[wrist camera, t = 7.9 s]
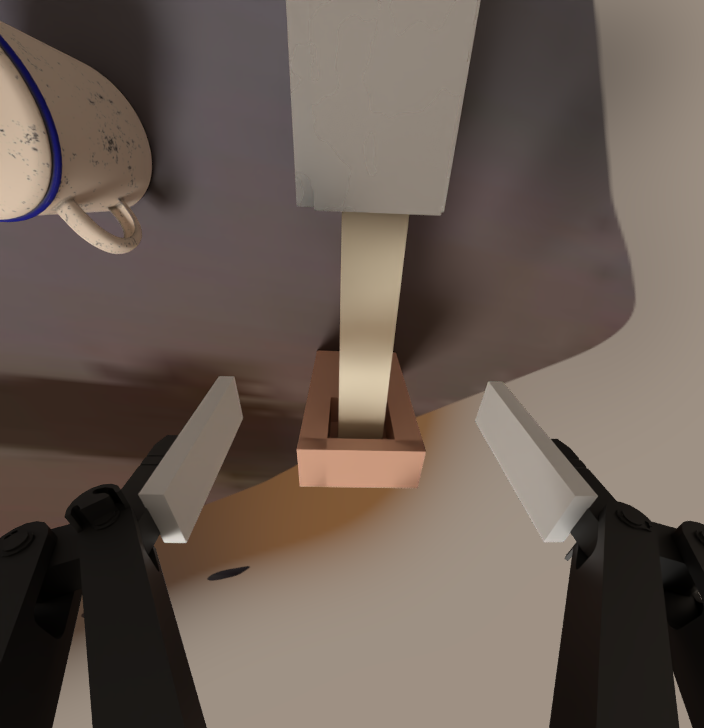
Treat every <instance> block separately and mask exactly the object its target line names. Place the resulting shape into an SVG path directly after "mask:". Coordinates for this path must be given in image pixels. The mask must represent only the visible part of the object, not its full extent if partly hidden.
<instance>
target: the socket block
mask: <svg viewBox="0 0 704 728" xmlns="http://www.w3.org/2000/svg"><path fill="white" fill-rule="evenodd" d="M339 361H340V351H317V354H316V359H315V363H314V368H313V373H312V378H311V383H310V388H309V393H308V397H307V402H306V407H305V412H304V417H303V422H302V427H301V431H300V436H299V441H298V446H297V458H298V469H299V482H300V487H365V488H367V487H368V488H418V484H419V480H420V476H421V471H422V467H423V462H424V458H425V454H426V450H425V447H424V444H423V440H422V437H421V434H420V431H419V427H418V424H417V421H416V417H415V414H414V411H413V407H412V404H411V401H410V397H409V394H408V391H407V388H406V384H405V381H404V378H403V374H402V371H401V368H400V365H399V361H398V358H397V355H396V353H393V354H392V362H391V370H390V379H389V387H388V395H387V403H386V412H385V420H384V428H383V437H382V438H383V439H344V438H338V417H339Z"/></svg>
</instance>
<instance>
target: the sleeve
mask: <svg viewBox="0 0 704 728" xmlns="http://www.w3.org/2000/svg"><path fill="white" fill-rule="evenodd" d="M480 1H481V0H286V11H287V30H288V49H289V68H290V87H291V105H292V124H293V143H294V162H295V181H296V200H297V206H303V207H314V210H315V211H339V212H364V213H389V214H414V215H439V216H441V212H444V209H445V203H446V197H447V191H448V186H449V180H450V174H451V168H452V162H453V157H454V151H455V145H456V139H457V134H458V128H459V122H460V116H461V110H462V105H463V99H464V93H465V87H466V82H467V76H468V70H469V64H470V59H471V53H472V47H473V41H474V35H475V30H476V24H477V18H478V12H479V7H480Z"/></svg>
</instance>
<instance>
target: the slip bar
mask: <svg viewBox="0 0 704 728" xmlns="http://www.w3.org/2000/svg"><path fill="white" fill-rule="evenodd" d="M408 221H409V214H389V213H364V212H342V238H341V299H340V361H339V417H338V438H344V439H383V438H382V437H383V428H384V420H385V412H386V403H387V395H388V387H389V379H390V370H391V362H392V354H393V345H394V337H395V329H396V320H397V312H398V304H399V296H400V287H401V279H402V271H403V262H404V254H405V246H406V237H407V229H408Z"/></svg>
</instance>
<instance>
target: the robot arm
mask: <svg viewBox="0 0 704 728" xmlns="http://www.w3.org/2000/svg"><path fill="white" fill-rule="evenodd" d="M242 419H243V416H242V411H241V406H240V401H239V397H238V392H237V387H236V382H235V377H226V376H219V377H218V379H217V380H216V382H215V383H214V384H213V386H212V387H211V389H210V390H209V392H208V393H207V395H206V396H205V398H204V399H203V401H202V402H201V403H200V405H199V406H198V408H197V409H196V411H195V412H194V414H193V415H192V417H191V418H190V420H189V421H188V422H187V424H186V425H185V427H184V428H183V430H182V431H181V433H180V434H179V435H167V436H166V437H164V438H163V439H162V440H160V441H159V442H158V443H157V444H155V445H154V447H153V448H152V449H151V451H150V452H149V453H148V455H147V457H145V459H144V460H143V461H142V463H141V465H140V466H139V467H138V468H137V469H136V471H135V472H134V473H133V475H132V476H131V477H130V479H129V480H128V481H127V483H126V484H125V485H124V487H123V488H122V489H120V488H119V487H118V486H117V485H114V484H103V485H100V486H97V487H94V488H91V489H89V490H88V491H86V492H84V493H82V494H81V495H80V496H79V497H77V498H76V499H75V500H74V501H73V502H72V503H71V504H70V506H69V507H68V508H67V510H66V514H65V518H66V519H67V520H68V522H69V523H70V524H69V525H65V526H61V527H57V528H54V529H50V528H49V527H48V526H47V524H46V523H45V522H39V521H36V522H31V523H26V524H24V525H22V526H19V527H17V528H15V529H13V530H11V531H10V532H8V533H7V534H5V535H3V536H2V537H1V538H0V728H52V726H53V722H54V717H55V713H56V709H57V704H58V700H59V695H60V691H61V686H62V682H63V677H64V673H65V668H66V664H67V659H68V655H69V651H70V646H71V642H72V637H73V633H74V628H75V624H76V620H77V615H78V611H79V606H80V601H81V597H82V595H83V608H84V621H85V633H86V647H87V660H88V672H89V686H90V699H91V712H92V725H93V728H207V727H206V723H205V720H204V717H203V713H202V709H201V706H200V703H199V699H198V695H197V692H196V689H195V685H194V682H193V678H192V675H191V671H190V667H189V664H188V660H187V657H186V653H185V650H184V646H183V643H182V639H181V636H180V633H179V629H178V625H177V622H176V618H175V615H174V611H173V608H172V604H171V601H170V598H169V594H168V590H167V587H166V584H165V580H164V576H163V573H162V569H161V566H160V562H159V559H158V555H157V552H156V549H155V547H154V544H155V542H156V540H157V538H158V536H159V535H161V537H162V539H163V541H164V542H165V543H187V541H188V538H189V536H190V534H191V532H192V529H193V527H194V525H195V523H196V521H197V518H198V516H199V514H200V512H201V510H202V507H203V505H204V503H205V501H206V499H207V496H208V494H209V492H210V490H211V488H212V485H213V483H214V481H215V479H216V477H217V474H218V472H219V470H220V468H221V465H222V463H223V461H224V459H225V457H226V454H227V452H228V450H229V448H230V446H231V443H232V441H233V439H234V437H235V435H236V432H237V430H238V428H239V426H240V424H241V421H242ZM475 422H476V424H477V426H478V427H479V429H480V431H481V433H482V434H483V436H484V438H485V440H486V441H487V443H488V445H489V447H490V449H491V450H492V452H493V454H494V456H495V457H496V459H497V461H498V463H499V464H500V466H501V468H502V470H503V471H504V473H505V475H506V477H507V478H508V480H509V482H510V484H511V486H512V487H513V489H514V491H515V493H516V494H517V496H518V497H519V499H520V501H521V503H522V505H523V507H524V508H525V510H526V512H527V514H528V515H529V517H530V519H531V521H532V523H533V524H534V526H535V528H536V530H537V531H538V533H539V535H540V537H541V538H542V540H543V542H564V541H565V539H566V538H567V537H568V535H569V534H570V533H571V534H572V536H573V537H574V539H575V540H576V544H575V545H574V546H573V547H572V549H571V550H570V551H569V552H568V554H567V555H566V557H565V559H566V560H567V561H568V560H569V559H570V558H571V557H572V560H571V568H570V575H569V583H568V590H567V598H566V605H565V613H564V620H563V628H562V635H561V643H560V651H559V658H558V665H557V673H556V680H555V688H554V696H553V703H552V710H551V718H550V725H549V728H679V721H678V713H677V704H676V695H675V686H674V678H673V673H674V676H675V678H676V681H677V684H678V687H679V690H680V693H681V695H682V698H683V701H684V704H685V707H686V710H687V713H688V716H689V719H690V721H691V724H692V727H693V728H704V525H703V524H701V523H698V522H693V521H686V522H683V523H682V524H681V525H680V526H679V527H678V528H677V529H676V528H673V527H669V526H665V525H662V524H658V523H655V522H651V521H650V520H649V519H648V517H646V516H645V515H644V514H643V513H641V512H640V511H639V510H637V509H635V508H634V507H632V506H630V505H628V504H625V503H622V502H617V501H616V500H615V499H614V498H613V496H612V495H611V494H610V493H609V492H608V491H607V490H606V489H605V487H604V486H603V485H602V484H601V483H600V482H599V480H598V479H597V478H596V477H595V476H594V475H593V474H592V473H591V471H590V470H589V469H587V468H586V466H585V465H584V463H583V462H582V461H581V460H579V458H578V457H577V456H576V454H575V453H574V452H573V451H572V450H571V449H570V448H569V447H568V446H566V445H565V444H564V443H562V442H561V441H559V440H558V439H550V438H549V437H548V435H547V434H546V433H545V432H544V431H543V430H542V428H541V427H540V426H539V425H538V424H537V422H536V421H535V420H534V419H533V418H532V416H531V415H530V414H529V413H528V412H527V410H526V409H525V408H524V407H523V406H522V404H521V403H520V402H519V401H518V399H517V398H516V397H515V396H514V395H513V393H512V392H511V391H510V390H509V389H508V387H507V386H506V385H505V384H504V383H503V382H495V381H488V384H487V387H486V390H485V393H484V396H483V399H482V402H481V405H480V408H479V411H478V414H477V417H476V420H475ZM698 592H699V593H698ZM699 594H700V595H699ZM700 596H701V597H700ZM701 598H702V599H701Z"/></svg>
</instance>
